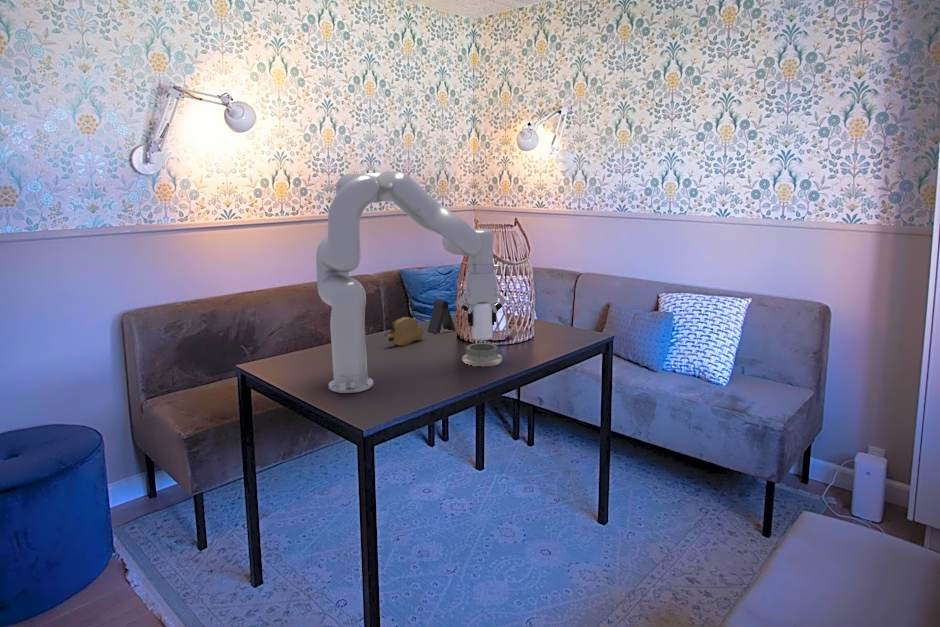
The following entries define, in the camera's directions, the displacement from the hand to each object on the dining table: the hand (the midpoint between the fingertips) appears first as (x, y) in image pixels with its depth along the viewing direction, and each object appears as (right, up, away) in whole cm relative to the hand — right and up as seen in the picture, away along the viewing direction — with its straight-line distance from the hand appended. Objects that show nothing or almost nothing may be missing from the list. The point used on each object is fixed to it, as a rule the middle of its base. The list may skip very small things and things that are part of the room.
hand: (481, 324), depth 203 cm
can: (0, -5, +1) cm, 5 cm away
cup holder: (0, -12, +3) cm, 12 cm away
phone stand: (-15, -4, +41) cm, 44 cm away
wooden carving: (-27, -8, +24) cm, 37 cm away
